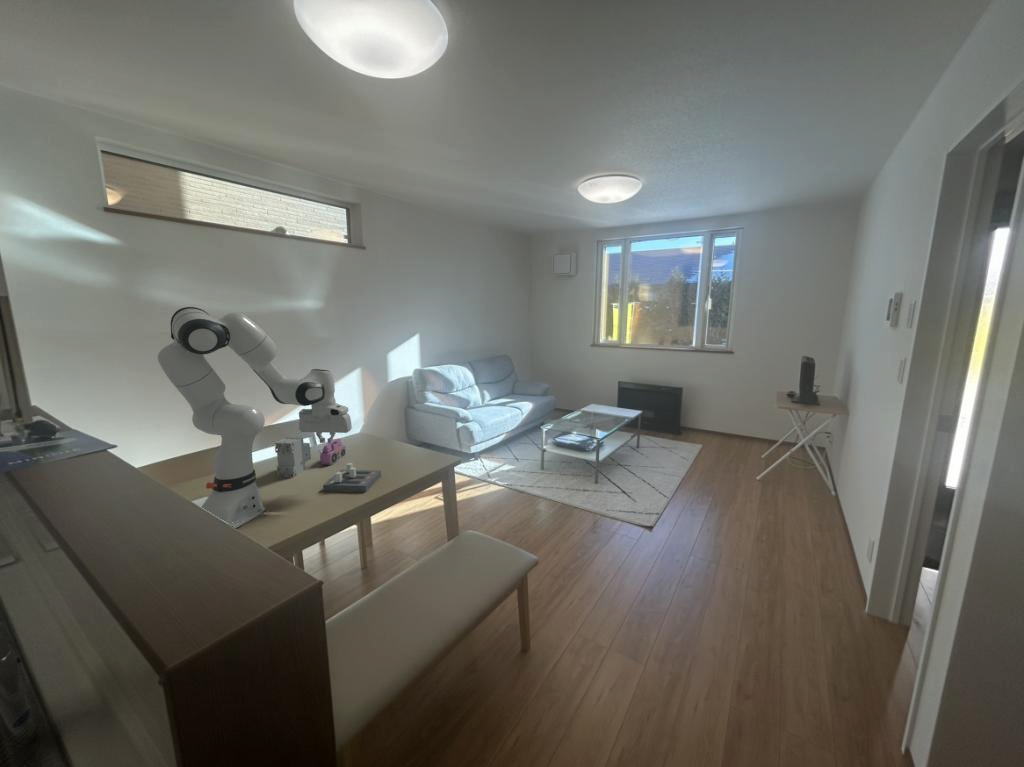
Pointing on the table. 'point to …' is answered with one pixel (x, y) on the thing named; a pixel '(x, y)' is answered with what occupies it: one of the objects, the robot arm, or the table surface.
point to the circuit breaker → (292, 456)
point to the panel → (353, 481)
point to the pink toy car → (332, 452)
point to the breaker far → (349, 465)
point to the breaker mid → (352, 472)
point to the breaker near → (338, 476)
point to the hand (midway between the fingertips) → (326, 442)
